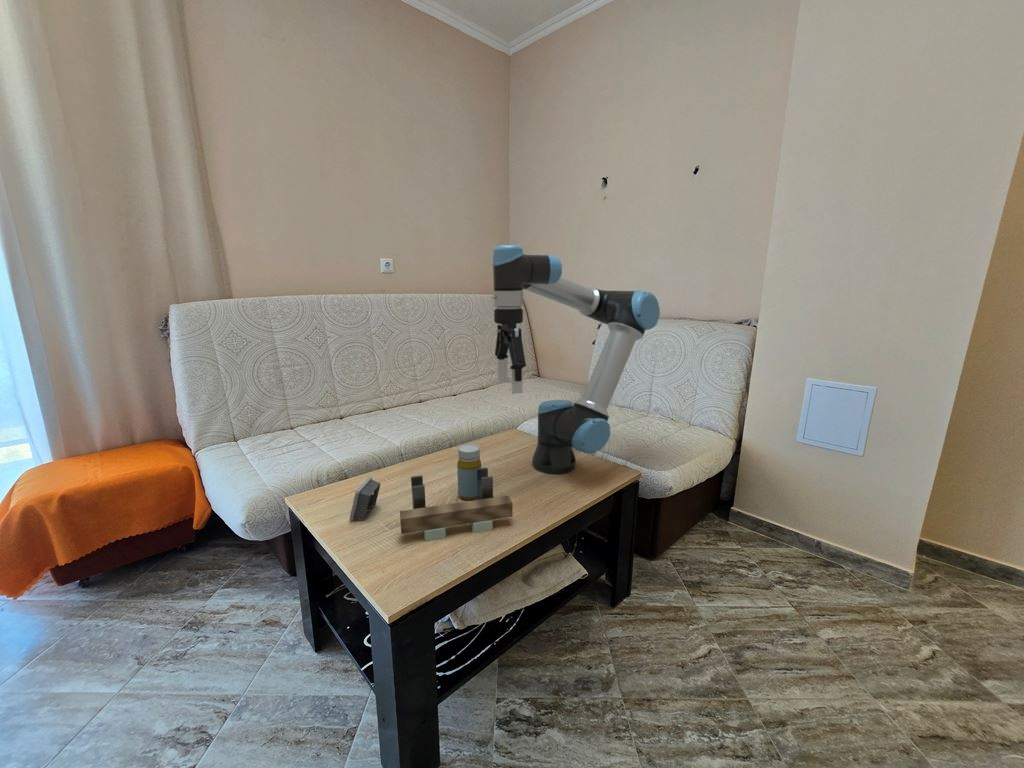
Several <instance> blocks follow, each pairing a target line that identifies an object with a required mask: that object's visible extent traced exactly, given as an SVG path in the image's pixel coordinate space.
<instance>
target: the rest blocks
mask: <svg viewBox="0 0 1024 768" xmlns="http://www.w3.org/2000/svg"><path fill="white" fill-rule="evenodd" d="M469 526H470V528H471V531H472V533H473V534H476V533H483V532H488V531H493V526H494V525H493V520H489V521H483V522H476V523H470V524H469ZM423 536H424V541H425V542H428V541H434V540H440V539H445V538H447V537H446V527H445V528H438V529H432V530H426V531H423Z"/></svg>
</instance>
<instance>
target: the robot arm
mask: <svg viewBox="0 0 1024 768" xmlns="http://www.w3.org/2000/svg"><path fill="white" fill-rule="evenodd" d="M492 266H493V267H492V269H493V275H492V277H493V295H491V298H492V299H493V300H494V301H493V302H494V303H493V305H494V307H495V309H494V310H493V317H494V319H493V320H494V323H495V324H496V325H497V331H496V333H497V334H496V341H495V351H494V355H495V356H496V359H497V360H496V362H497V363H496V364H497V383H508V359H509V357H510V361H511V365H510V367H509V369H510V371H511V394H512V395H513V394H516V395H517V394H523V392H524V391H523V383H524V382H523V369H524V368H525V367H527V366H526V365H527V363H526V358H525V351H524V344H523V339H522V336H523V335H522V329H521V328H517V324H522V323H523V321H524V309H522V307H523V306H524V291H525V290H526V291H528V292H530V293H533V294H536V295H538V296H542V297H544V298H547V299H548V300H552V301H555V302H556V303H559V304H562V305H564V306H568V307H571V308H572V309H575V310H577V311H579V314H580V315H582V316H584V317H586V318H587V317H588V318H590V319H592V320H595V321H597V322H599V323H601V324H605V325H607V327H608V329H609V333H608V336H607V338H606V340H605V343H604V345H603V347H602V350H601V352H600V355H599V356H598V359H597V361H596V363H595V365H594V368H593V371H592V374H591V375H590V378H589V380H588V382H587V385H586V387H585V390H584V392H583V394H582V397H581V398H580V400H579V399H578V400H577V401H574V403H573V401H572V400H568V399H566V400H565V399H553V400H551V399H550V400H546V401H542V402H540V403H539V404H538V411H537V445H536V447H535V450H534V453H533V456H532V461H531V462H532V467H533V468H534V469H535V470H537V471H539V472H541V473H545V474H552V475H555V474H556V475H558V474H559V475H560V474H566V473H570V472H572V471H574V470H575V469H576V466H577V465H576V463H577V459H576V455H575V452H574V450H576V451H578V452H582V453H584V454H589V455H590V454H594V453H597V452H598V451H601V450H602V449H603V448H604V447H605V446H606V445H607V443H609V442H608V441H609V439H610V437H611V426H610V423H609V422H608V420H609V418H610V415H609V413H608V408H609V406H610V403H611V400H612V398H613V396H614V394H615V391H616V389H617V386H618V384H619V381H620V379H621V377H622V375H623V372H624V370H625V368H626V366H627V362H628V361H629V358H630V356H631V353H632V350H633V348H634V346H635V343H636V341H639V340H641V339H643V337H644V334H645V332H646V331H648V330H652V329H653V328H654V327H656V326H657V324H658V323H659V322H658V321H659V318H660V314H661V308H660V305H659V304H660V303H659V301H658V299H657V297H656V296H655V295H654V294H653V292H651V291H644V290H604V289H603V290H602V289H598V288H596V287H592V286H591V287H586V286H584V285H580V284H578V283H576V282H574V281H572V280H569V279H566V278H564V277H562V273H563V271H562V270H563V264H562V261H561V260H560V258H559V257H557V256H556V255H549V254H525V253H524V251H523V247H522V246H521V245H517V244H503V245H501V244H500V245H497V246H495V248H493V255H492ZM508 352H509V356H508Z"/></svg>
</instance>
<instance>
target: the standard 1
mask: <svg viewBox="0 0 1024 768" xmlns="http://www.w3.org/2000/svg"><path fill="white" fill-rule="evenodd" d="M423 477H424V476H423V475H422V474H421V475H420V474H419V475H413V476H410V484H411V499H412V500H411V502H412V509H418V508H425V507H427V506H426V491H425V490H426V488H425V484H424V480H423Z"/></svg>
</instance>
